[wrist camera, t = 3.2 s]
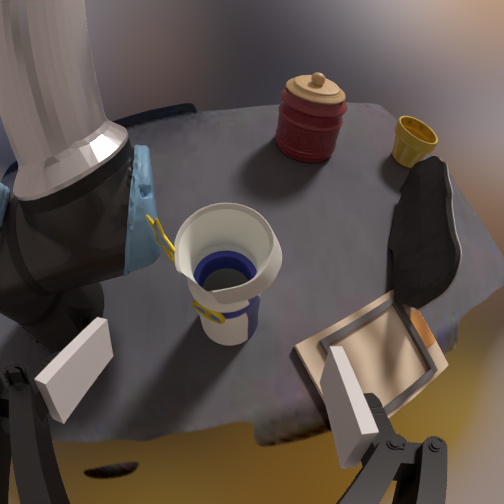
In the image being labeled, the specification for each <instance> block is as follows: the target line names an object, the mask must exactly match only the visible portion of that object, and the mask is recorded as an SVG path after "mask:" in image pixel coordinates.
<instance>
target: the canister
mask: <svg viewBox="0 0 504 504" xmlns="http://www.w3.org/2000/svg"><path fill="white" fill-rule="evenodd" d="M280 95H281V99H282V103H281V104H280V106H279V118H278V126H277V129H276V135H275V137H276V144H277V146H278V148H279V149H280V150H281V151H282V152H283V153H284V154H286V155H287V156H289V157H291V158H293V159H296V160H299V161H303V162H311V163H313V162H321V161H324V160H326V159H328V158H329V157H330V156H331V154H332V153H333V151H334V149H335V146H336V140H337V137H338V134H339V130H340V127H341V125H342V123H343V119H342V115H343V114H344V113H345V112H346V110H347V106H346V103H345V102H344V100H345V94H344V92H343V91H342V90H341V89H340V88H339V87H338V86H337V85H336V84H335V83H334V82H332V81H330V80H328V79H325V76H324V75H323V74H321V73H314V74H313V75H302V76H298V77H296V78H293V79H290V80H289V81H288V82H287V84H286V88H285V89H283V90H282V92H281V94H280Z"/></svg>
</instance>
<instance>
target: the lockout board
mask: <svg viewBox="0 0 504 504" xmlns="http://www.w3.org/2000/svg"><path fill="white" fill-rule="evenodd" d="M330 346H342V347H343V349H344V351H345V353H346V356H347V358H348V360H349V362H350V365H351V367H352V369H353V371H354V374H355V376H356V378H357V381H358V383H359V385H360V388H361V390H362V392H363V393H374V394H375V395H376V396H377V397H378V398H379V399H380V401H381V403H382V406H383V408H384V410H385V413H386V414H387V416H388V418H390V417H391V416H392V415H394V414H395V413H396V412H398V411H399V410H400V409H401V408H402V407H404V406H405V405H406V404H407V403H408V402H410V401H411V400H412V399H413V398H414V397H415V396H417V395H418V394H419V393H420V392H421V391H422V390H423V389H424V388H426V387H427V386H428V385H429V384H430V383H431V382H432V381H433V380H434V379H435V378H436V377H437V376H438V375H439V374H440V373H441V372H442V371H443V370H444V369H445V368H446V367H447V366H448V363H447V361H446V359H445V357H444V355H443V353H442V351H441V349H440V347H439V346H438V344H437V342H436V340H435V338H434V336H433V334H432V333H431V331H430V329H429V327H428V325H427V324H426V322H425V320H424V319H423V317H422V315H421V313H420V312H419V310H416V309H415V308H413V307H410V306H406V305H403V304H400V303H397V302H396V300H395V291H394V289H392V290H391V291H389V292H388V293H386V294H385V295H383V296H381V297H380V298H378V299H377V300H375V301H373V302H372V303H370V304H369V305H367V306H365V307H364V308H362V309H360V310H359V311H357V312H355V313H353V314H352V315H350V316H348V317H347V318H345V319H343V320H341V321H340V322H338V323H336V324H334V325H332V326H331V327H329V328H327V329H325V330H323V331H321V332H320V333H318V334H316V335H314V336H312V337H310V338H308V339H306V340H304V341H302V342H300V343H299V344H297V345H295V346H294V348H295V350H296V352H297V354H298V355H299V357H300V359H301V361H302V363H303V365H304V367H305V368H306V370H307V372H308V374H309V376H310V378H311V380H312V381H313V383H314V385H315V387H316V389H317V391H318V392H319V394H320V396H321V398H322V400H323V402H324V404H325V401H324V397H323V393H322V390H321V386H320V379H321V376H322V372H323V369H324V366H325V362H326V358H327V355H328V351H329V347H330Z"/></svg>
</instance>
